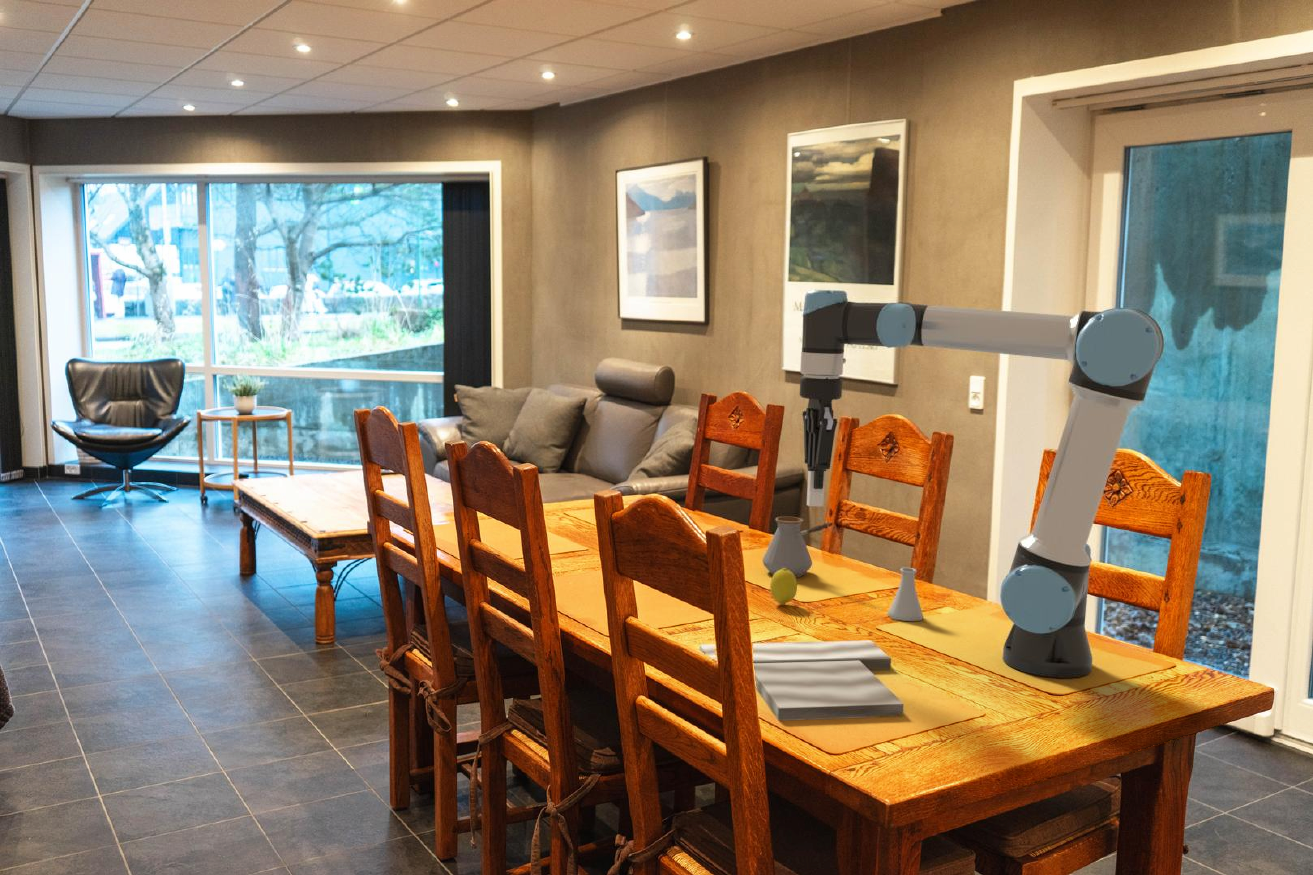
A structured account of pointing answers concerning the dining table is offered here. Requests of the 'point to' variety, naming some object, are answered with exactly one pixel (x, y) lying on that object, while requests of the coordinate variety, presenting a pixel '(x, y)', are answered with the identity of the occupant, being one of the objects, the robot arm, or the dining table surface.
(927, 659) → the dining table surface
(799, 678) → the panel
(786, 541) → the coffee pot
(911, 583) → the flask
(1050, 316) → the robot arm
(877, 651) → the board
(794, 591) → the lemon
